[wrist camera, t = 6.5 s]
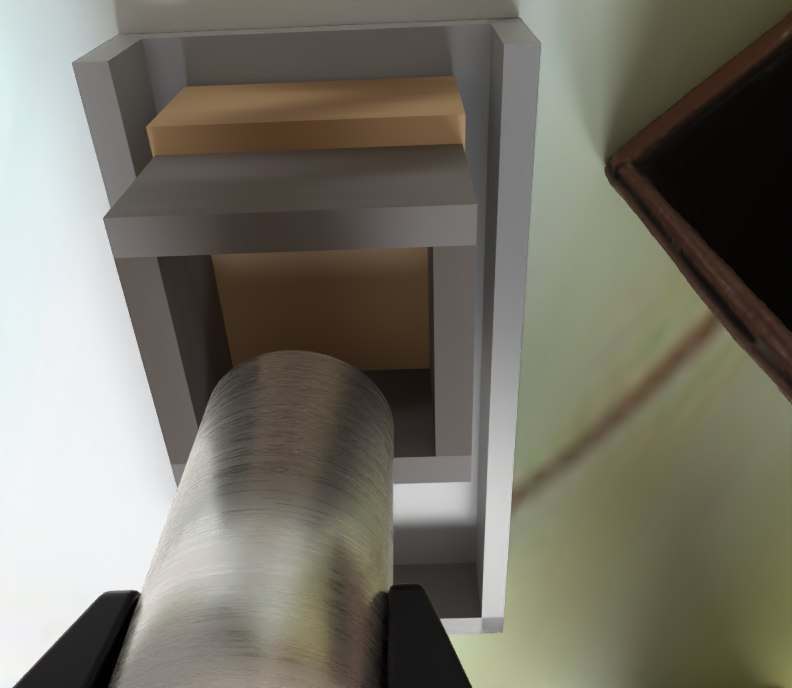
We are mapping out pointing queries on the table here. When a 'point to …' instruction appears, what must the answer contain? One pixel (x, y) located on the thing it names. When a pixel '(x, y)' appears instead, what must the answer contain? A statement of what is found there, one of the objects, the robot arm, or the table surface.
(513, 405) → the bay
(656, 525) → the table surface
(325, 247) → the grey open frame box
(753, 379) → the table surface
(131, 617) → the robot arm
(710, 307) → the letter holder
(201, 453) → the handle peg
